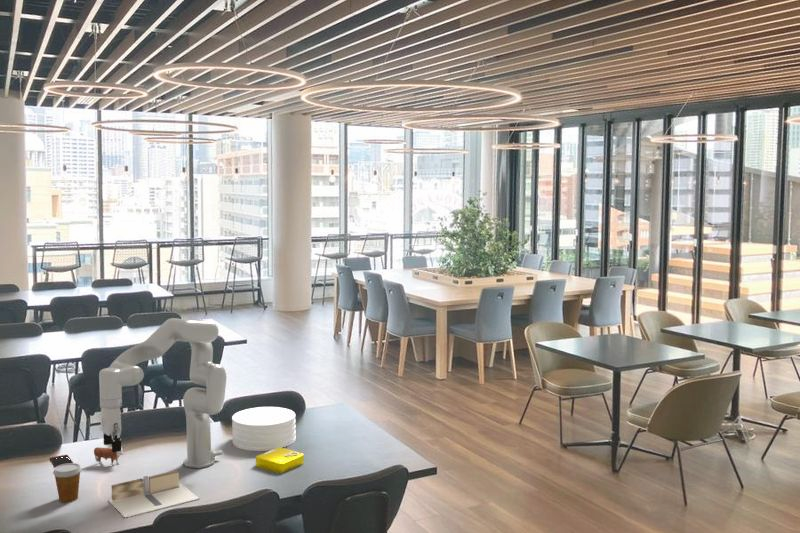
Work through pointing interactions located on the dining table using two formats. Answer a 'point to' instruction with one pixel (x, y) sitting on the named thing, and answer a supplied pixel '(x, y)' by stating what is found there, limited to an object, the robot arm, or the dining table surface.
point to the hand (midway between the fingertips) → (112, 447)
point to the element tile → (279, 460)
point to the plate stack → (263, 428)
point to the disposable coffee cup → (67, 481)
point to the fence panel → (127, 489)
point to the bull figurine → (107, 454)
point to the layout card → (155, 495)
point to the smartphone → (60, 460)
